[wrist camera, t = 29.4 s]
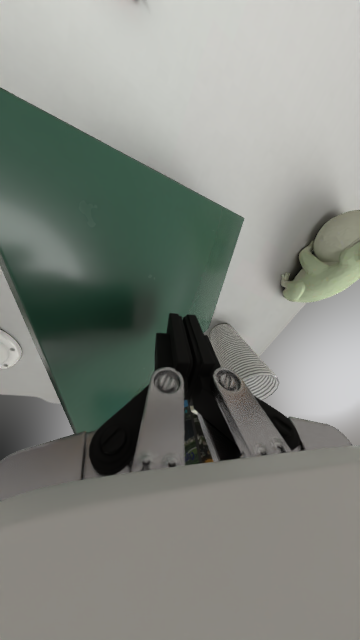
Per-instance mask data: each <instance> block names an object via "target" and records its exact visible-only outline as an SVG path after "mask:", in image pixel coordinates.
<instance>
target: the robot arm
mask: <svg viewBox="0 0 360 640" xmlns="http://www.w3.org/2000/svg"><path fill="white" fill-rule="evenodd" d="M21 354H22V352H21V348H20V346H19V344H18V343H17V342H16V340H15V339H13V338H12V337H11V336H10V335H9V334H7V333H6V332H4V331H2V330H1V329H0V369H5V368H8V367H11V366H13V365H14V364H16V363H17V362H18V361H19V359H20V358H21ZM185 400H187V402H188V406H193V407H194V410H196V411H197V414H198V419H199V422H200V424H201V427H202V430H203V433H204V436H205V439H206V442H207V445H208V447H209V450H210V453H211V456H212V459H213V462H209V463H201V464H193V465H185V454H184V401H185ZM0 640H360V446H353V445H352V444H351V442H350V441H349V440H348V439H347V438H346V437H345V435H344V434H342V433H341V432H340V431H339V430H337V429H336V428H334V427H333V426H330V425H328V424H323V423H318V422H313V421H308V420H304V419H299V418H294V417H289V418H287V417H285V416H284V415H283V414H282V413H280V412H278V411H277V410H276V409H274V408H272V407H271V406H269V405H268V404H266V403H265V402H263V401H262V400H260V399H259V398H257V397H256V396H254V395H253V394H252V393H251V391H250V390H249V388H248V387H247V385H246V384H245V383H244V381H243V380H242V378H241V377H240V376H239V375H238V374H237V373H236V372H235V371H233V370H231V369H229V368H225V367H221V365H220V363H219V361H218V358H217V356H216V354H215V351H214V349H213V347H212V345H211V342H210V340H209V338H208V336H207V335H204V334H203V331H202V329H201V326H200V324H199V322H198V319H197V317H196V315H189V314H187V315H186V316H184V317H183V320H182V316H179V314H176V313H169V319H168V325H167V332H166V333H156V341H155V370H154V373H153V374H152V376H151V378H150V383H149V385H148V386H147V387H145V388H144V389H143V390H142V391H141V392H140V393H138V394H137V395H136V396H135V397H134V398H133V399H132V400H130V401H129V402H128V403H127V404H126V405H125V406H123V407H122V408H121V409H120V410H119V411H118V412H117V413H115V414H114V415H113V416H112V417H111V418H110V419H108V420H107V421H106V422H105V423H104V424H103V425H102V426H101V427H100V428H99V429H97V430H94V431H91V432H87V433H86V431H83V432H80V433H76V434H73V435H70V436H67V437H63V438H60V439H57V440H53V441H50V442H46V443H43V444H40V445H36V446H33V447H30V448H27V449H24V450H20V451H17V452H15V453H13V454H11V455H9V456H7V457H6V458H5V459H3V460H2V461H0Z"/></svg>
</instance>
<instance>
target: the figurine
mask: <svg viewBox="0 0 360 640" xmlns="http://www.w3.org/2000/svg"><path fill="white" fill-rule="evenodd" d="M313 243H314V244H313ZM312 244H313V245H312ZM313 249H314V253H315V255H316V257H317V258H316V257H315V256H314V255H313V254H312V253H311V252H312V250H313ZM299 260H300V263H301V265H302V267H303V269H302V270H301V271H300V272H299V273H298V274H297V276H296V277H295V279H294V280H293V281H289V275H290V273H288V276H287V272H285V277H284V275H282V276H281V277H282V279H281V285H282V286H283V287H285V290H284V291H283V296H284V297H285V298H286V299H287V300H289V301H293V302H314V301H319V300H322V299H324V298H328V297H331V296H332V295H335V294H337V293H339V292H341V291H343V290H344V289H346V288H347V287H349V286H350V285H352V284H353V283H354V282H356V281H357V280H358V279H360V210H355V211H349V212H346V213H343V214H340V215H338V216H336V217H334V218H332V219H331V220H329V221H328V222H327V223H325V224H324V226H323V227H322V228H321V229H320V231H319V232H318V234H317V236H316V238H315V241H311V243H310V245H309V246H307V247H306V248H304V249H303V250H302V251H301V252H300V254H299Z"/></svg>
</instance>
